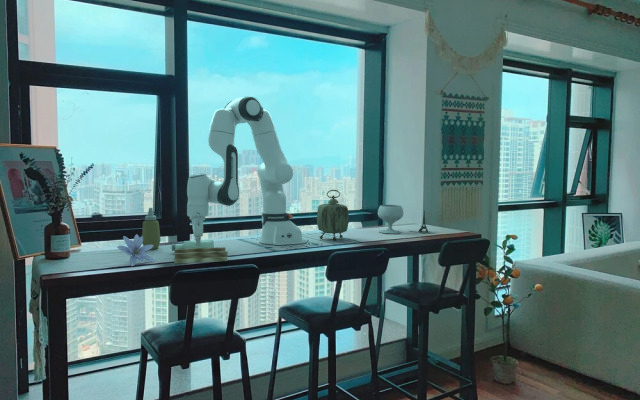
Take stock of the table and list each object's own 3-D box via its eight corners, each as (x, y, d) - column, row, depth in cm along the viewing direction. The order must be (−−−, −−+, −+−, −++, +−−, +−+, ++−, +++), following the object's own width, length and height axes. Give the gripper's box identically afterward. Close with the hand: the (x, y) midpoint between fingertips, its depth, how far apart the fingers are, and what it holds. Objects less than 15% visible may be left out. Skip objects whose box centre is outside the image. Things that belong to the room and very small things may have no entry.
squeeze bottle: (154, 250, 210) (154, 209, 208) (137, 249, 211) (136, 208, 210) (164, 247, 218) (163, 207, 216) (147, 246, 219) (147, 206, 218)
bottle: (213, 251, 212) (212, 239, 212) (213, 252, 207) (213, 240, 207) (171, 252, 207) (171, 241, 207) (171, 254, 202) (171, 242, 202)
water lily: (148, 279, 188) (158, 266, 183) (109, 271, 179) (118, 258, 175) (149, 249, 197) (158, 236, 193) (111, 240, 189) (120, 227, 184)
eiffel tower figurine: (406, 232, 275) (407, 208, 274) (417, 230, 282) (418, 207, 281) (428, 235, 264) (429, 210, 263) (439, 233, 270) (440, 209, 269)
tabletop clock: (343, 237, 250) (344, 189, 248) (349, 240, 241) (350, 190, 239) (316, 238, 245) (317, 189, 243) (322, 241, 237) (322, 190, 235)
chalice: (388, 230, 278) (388, 203, 277) (408, 232, 268) (408, 205, 267) (372, 232, 269) (372, 205, 268) (391, 235, 259) (392, 207, 257)
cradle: (224, 255, 202) (224, 246, 202) (227, 260, 190) (227, 252, 190) (174, 257, 196) (174, 248, 196) (174, 263, 185) (174, 254, 184)
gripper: (206, 214, 197) (206, 248, 198) (204, 209, 217) (204, 240, 218) (190, 214, 195) (190, 248, 196) (189, 209, 215) (189, 240, 216)
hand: (197, 244), depth 207 cm, fingers open, 8 cm apart
